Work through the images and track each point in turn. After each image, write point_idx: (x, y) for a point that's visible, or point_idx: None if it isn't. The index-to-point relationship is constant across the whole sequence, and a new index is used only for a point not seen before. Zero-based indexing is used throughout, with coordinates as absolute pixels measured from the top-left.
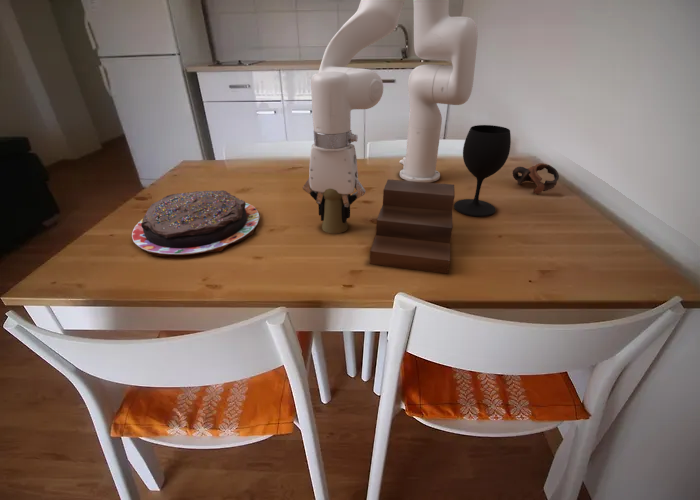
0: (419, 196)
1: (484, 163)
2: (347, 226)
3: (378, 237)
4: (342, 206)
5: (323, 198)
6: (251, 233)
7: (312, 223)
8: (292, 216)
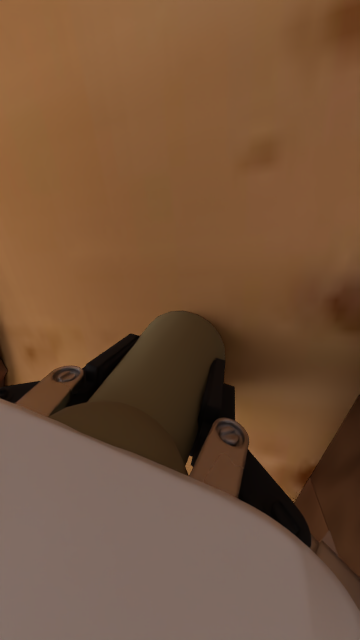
0: None
1: None
2: (224, 350)
3: (334, 545)
4: (191, 449)
5: (76, 403)
6: (1, 375)
7: (110, 320)
8: (42, 271)
